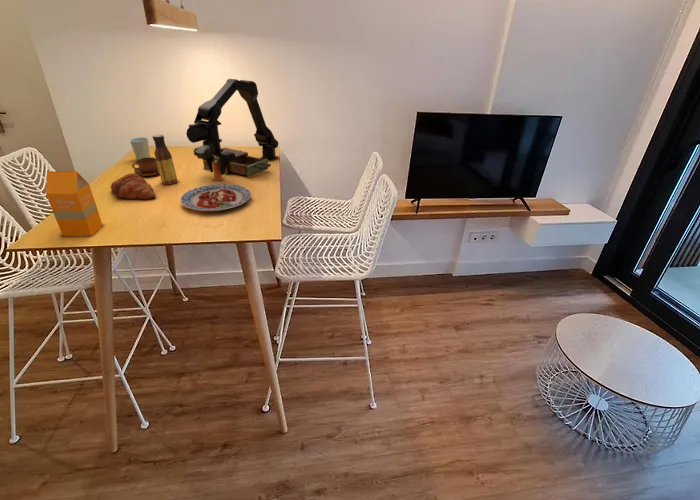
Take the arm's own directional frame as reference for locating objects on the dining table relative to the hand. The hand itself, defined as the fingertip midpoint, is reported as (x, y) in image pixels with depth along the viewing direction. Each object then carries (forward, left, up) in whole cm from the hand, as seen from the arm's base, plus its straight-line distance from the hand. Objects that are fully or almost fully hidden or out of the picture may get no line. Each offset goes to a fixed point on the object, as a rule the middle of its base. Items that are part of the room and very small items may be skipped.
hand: (217, 173), depth 167 cm
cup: (+1, -47, -3) cm, 47 cm away
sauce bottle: (+14, -14, -3) cm, 20 cm away
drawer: (-14, +7, -2) cm, 16 cm away
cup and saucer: (+11, -30, -3) cm, 32 cm away
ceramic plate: (+18, +17, -3) cm, 25 cm away
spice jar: (0, 0, -3) cm, 3 cm away
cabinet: (-14, -8, -3) cm, 16 cm away
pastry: (+30, -15, -3) cm, 34 cm away
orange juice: (+58, -2, -3) cm, 58 cm away
